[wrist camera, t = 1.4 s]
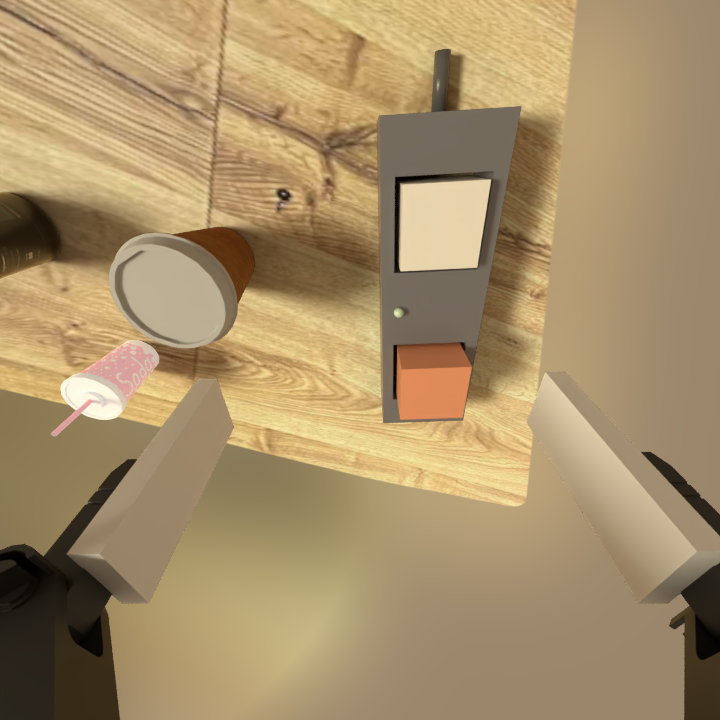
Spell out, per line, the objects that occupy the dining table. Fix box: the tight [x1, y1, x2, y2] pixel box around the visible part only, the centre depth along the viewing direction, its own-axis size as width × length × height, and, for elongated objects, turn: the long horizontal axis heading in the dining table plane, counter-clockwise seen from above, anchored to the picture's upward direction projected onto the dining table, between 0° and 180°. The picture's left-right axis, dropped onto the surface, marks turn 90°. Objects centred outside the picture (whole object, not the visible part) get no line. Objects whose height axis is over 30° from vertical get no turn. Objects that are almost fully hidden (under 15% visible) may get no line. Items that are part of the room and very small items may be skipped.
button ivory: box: [396, 175, 491, 271], centre depth 29 cm, size 7×7×5 cm
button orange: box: [396, 342, 472, 420], centre depth 35 cm, size 7×7×5 cm
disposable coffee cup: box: [109, 227, 255, 348], centre depth 29 cm, size 10×10×12 cm
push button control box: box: [377, 49, 521, 423], centre depth 32 cm, size 36×10×6 cm, turn 3°
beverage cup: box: [51, 340, 159, 436], centre depth 35 cm, size 6×6×14 cm
